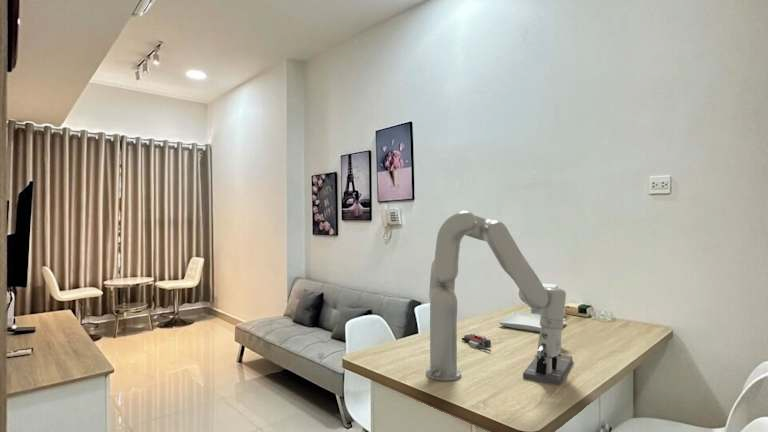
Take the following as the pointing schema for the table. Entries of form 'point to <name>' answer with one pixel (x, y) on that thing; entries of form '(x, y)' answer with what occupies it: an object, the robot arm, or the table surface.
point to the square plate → (523, 321)
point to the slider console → (556, 374)
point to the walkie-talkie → (477, 341)
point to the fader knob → (548, 362)
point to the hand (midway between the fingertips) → (546, 370)
